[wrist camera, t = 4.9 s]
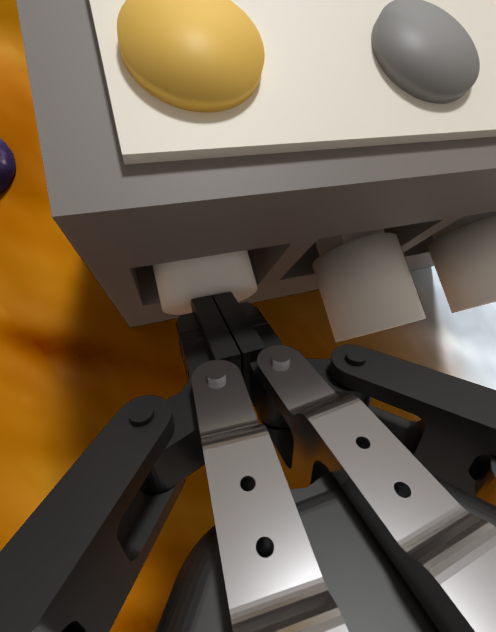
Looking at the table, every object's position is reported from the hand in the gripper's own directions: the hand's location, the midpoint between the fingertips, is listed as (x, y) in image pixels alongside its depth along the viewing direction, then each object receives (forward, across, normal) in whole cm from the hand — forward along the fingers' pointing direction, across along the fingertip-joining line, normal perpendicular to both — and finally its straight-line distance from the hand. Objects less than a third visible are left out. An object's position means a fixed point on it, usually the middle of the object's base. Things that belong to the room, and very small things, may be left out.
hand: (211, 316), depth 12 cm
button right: (+2, -13, 0) cm, 13 cm away
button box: (+8, -7, 0) cm, 11 cm away
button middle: (+2, -7, 0) cm, 7 cm away
